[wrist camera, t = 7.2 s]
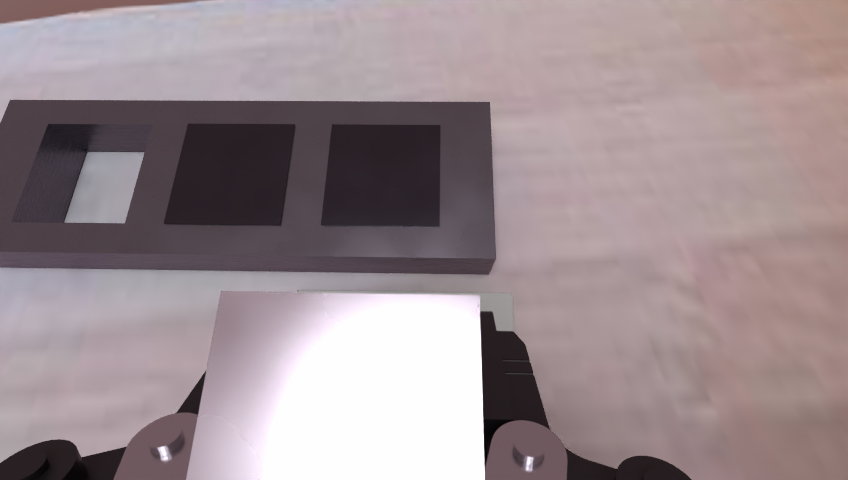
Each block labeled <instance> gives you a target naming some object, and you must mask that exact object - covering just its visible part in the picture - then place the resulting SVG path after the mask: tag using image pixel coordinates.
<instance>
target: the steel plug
mask: <svg viewBox="0 0 848 480" xmlns="http://www.w3.org/2000/svg"><path fill="white" fill-rule="evenodd" d="M186 480H485V472H484V436H483V401H482V365H481V329H480V295H433V294H368V293H303V292H238V291H221V295H220V300H219V305H218V311H217V316H216V321H215V327H214V332H213V338H212V343H211V348H210V354H209V359H208V364H207V370H206V375H205V381H204V386H203V391H202V397H201V402H200V407H199V413H198V418H197V424H196V429H195V434H194V440H193V445H192V450H191V456H190V461H189V467H188V472H187V477H186Z"/></svg>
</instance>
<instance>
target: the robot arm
mask: <svg viewBox="0 0 848 480" xmlns="http://www.w3.org/2000/svg"><path fill="white" fill-rule="evenodd" d="M480 329H481V365H482V401H483V436H484V472H485V480H691V479H690V478H689V477H688V476H687V475H686V474H685V473H684V472H682V471H681V470H680V469H678V468H677V467H675V466H673V465H672V464H670V463H668V462H666V461H663V460H661V459H658V458H654V457H649V456H634V457H630V458H628V459H626V460H624V461H623V462H622V463H621V464H620V465H619V467H618V469H615V468H611V467H608V466H605V465H602V464H599V463H595V462H592V461H589V460H586V459H584V458H581V457H579V456H577V455H575V454H573V453H572V452H570V451H569V450H567V449H566V448H565V447H564V445H563V443H562V442H561V440H560V439H559V438H558V437H557V436H556V435H555V434H554V433H553V432H552V431H551V430H550V428H549V425H548V422H547V419H546V415H545V412H544V408H543V405H542V401H541V398H540V394H539V391H538V387H537V384H536V381H535V377H534V376H533V370H532V367H531V363H530V362H529V356H528V353H527V349H526V346H525V344H524V343H523V342H522V340H521V339H520V338H519V337H518V336H517V335H516V334H515V333H514V332H513V331H497V330H496V325H495V320H494V315H493V312H492V311H480ZM205 375H206V371H205V373H204V374H203V376H202V377H201V379H200V380H199V381H198V383H197V384H196V386H195V387H194V389H193V390H192V392H191V393H190V394H189V396H188V397H187V399H186V400H185V402H184V403H183V404H182V406H181V407H180V409H179V410H178V412H177V413H175V414H171V415H168V416H165V417H162V418H160V419H158V420H156V421H154V422H152V423H150V424H149V425H147V426H146V427H144V428H143V429H142V430H141V431H139V432H138V433H137V434H136V435H135V436H134V437H133V438H132V440H131V441H130V443H129V444H128V446H127V447H124V448H120V449H116V450H111V451H107V452H103V453H99V454H94V455H90V456H86V457H82V458H81V456H80V454H79V452H78V450H77V447H76V446H75V445H74V444H73V443H72V442H70V441H67V440H49V441H45V442H41V443H38V444H35V445H32V446H30V447H27V448H25V449H23V450H21V451H19V452H17V453H15V454H14V455H12V456H10V457H9V458H7V459H6V460H4V461H3V462H1V463H0V480H186V477H187V472H188V467H189V461H190V456H191V450H192V445H193V440H194V434H195V429H196V424H197V418H198V413H199V407H200V402H201V397H202V391H203V386H204V381H205Z"/></svg>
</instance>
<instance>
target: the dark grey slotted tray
mask: <svg viewBox="0 0 848 480" xmlns="http://www.w3.org/2000/svg"><path fill="white" fill-rule="evenodd" d="M87 151H121V152H145V153H144V157H143V161H142V164H141V168H140V171H139V175H138V179H137V182H136V186H135V189H134V193H133V197H132V200H131V204H130V207H129V211H128V215H127V218H126V222H125V224H117V223H63V221H64V218H65V215H66V212H67V209H68V206H69V203H70V200H71V197H72V194H73V191H74V188H75V185H76V182H77V179H78V176H79V173H80V170H81V167H82V164H83V161H84V158H85V155H86V152H87ZM495 259H496V249H495V223H494V197H493V170H492V144H491V118H490V102H351V101H124V100H10V102H9V104H8V106H7V109H6V111H5V114H4V116H3V118H2V121H1V123H0V267H20V268H89V269H157V270H226V271H295V272H363V273H432V274H489V273H490V270H491V268H492V266H493V264H494V262H495Z"/></svg>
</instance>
